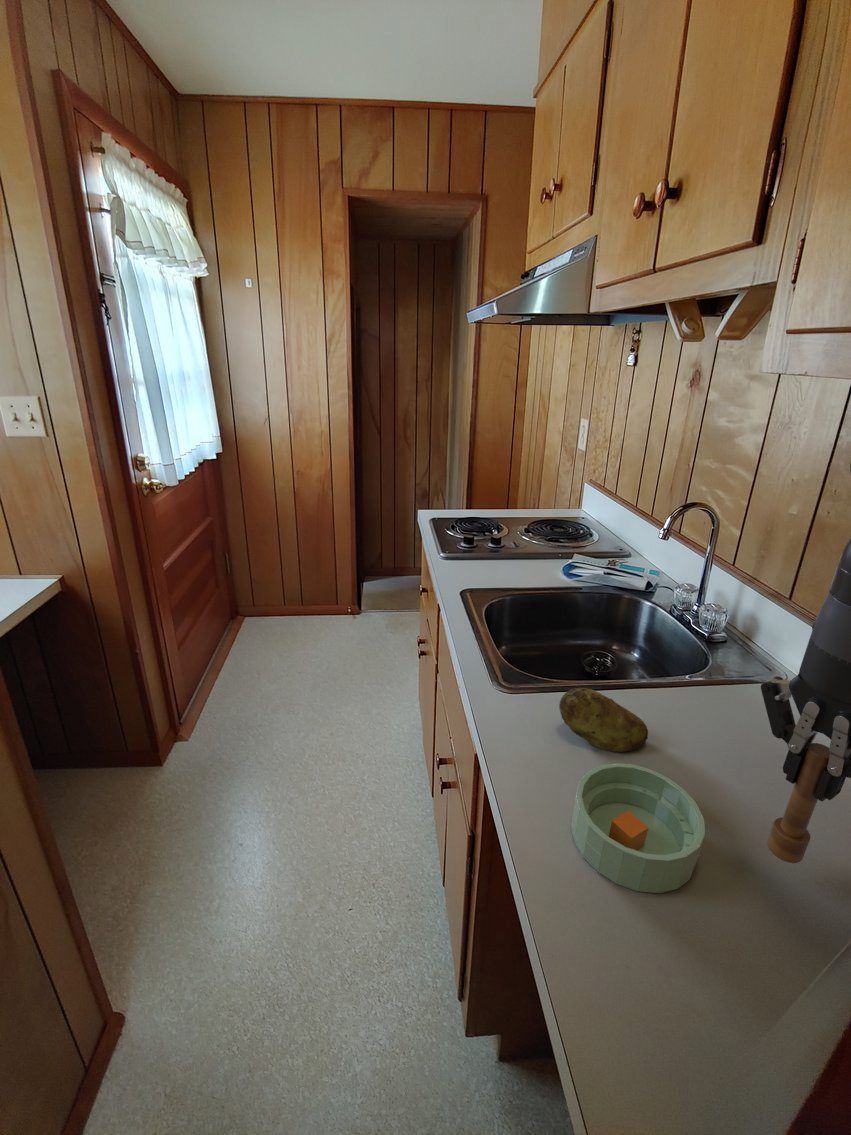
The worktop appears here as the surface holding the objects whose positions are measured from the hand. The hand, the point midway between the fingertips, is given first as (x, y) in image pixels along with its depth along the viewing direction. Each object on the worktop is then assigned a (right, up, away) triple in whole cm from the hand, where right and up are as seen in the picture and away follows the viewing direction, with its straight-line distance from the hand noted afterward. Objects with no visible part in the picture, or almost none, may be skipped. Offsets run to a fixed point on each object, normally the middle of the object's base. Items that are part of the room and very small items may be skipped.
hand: (807, 786), depth 57 cm
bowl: (-14, -11, +11) cm, 21 cm away
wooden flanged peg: (0, -8, +4) cm, 9 cm away
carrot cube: (-15, -11, +10) cm, 21 cm away
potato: (-13, -4, +28) cm, 31 cm away
